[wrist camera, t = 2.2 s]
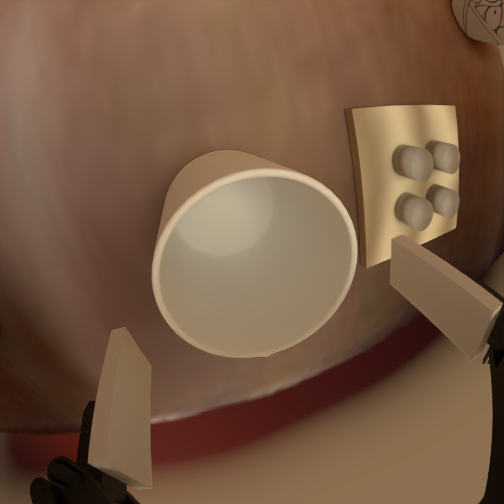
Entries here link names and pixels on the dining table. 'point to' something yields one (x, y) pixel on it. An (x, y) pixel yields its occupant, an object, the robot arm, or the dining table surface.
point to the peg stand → (403, 174)
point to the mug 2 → (481, 19)
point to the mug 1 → (250, 255)
